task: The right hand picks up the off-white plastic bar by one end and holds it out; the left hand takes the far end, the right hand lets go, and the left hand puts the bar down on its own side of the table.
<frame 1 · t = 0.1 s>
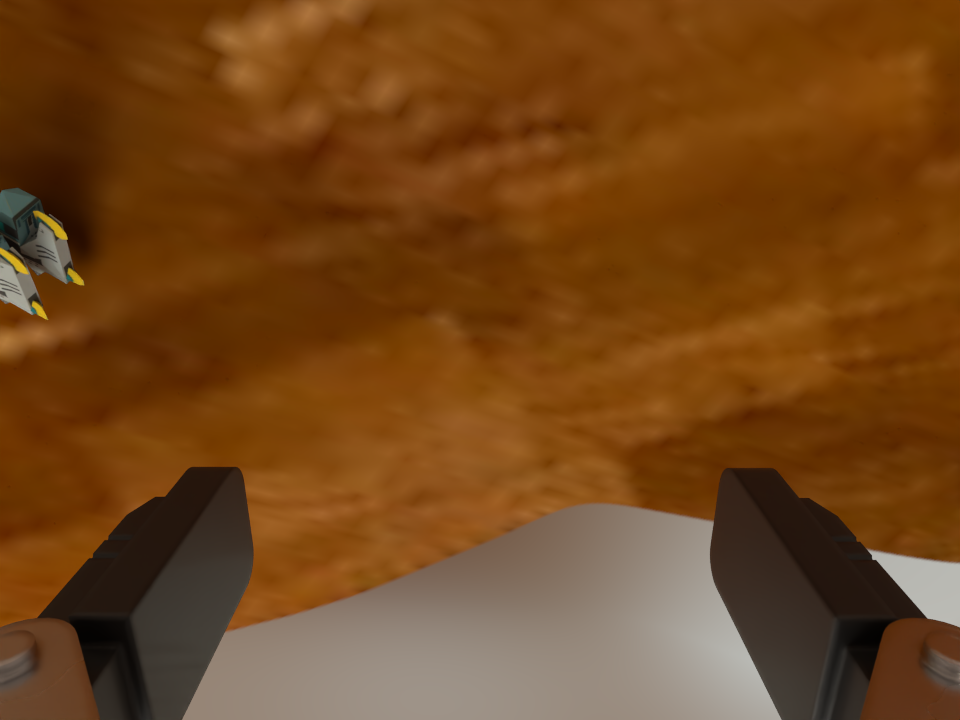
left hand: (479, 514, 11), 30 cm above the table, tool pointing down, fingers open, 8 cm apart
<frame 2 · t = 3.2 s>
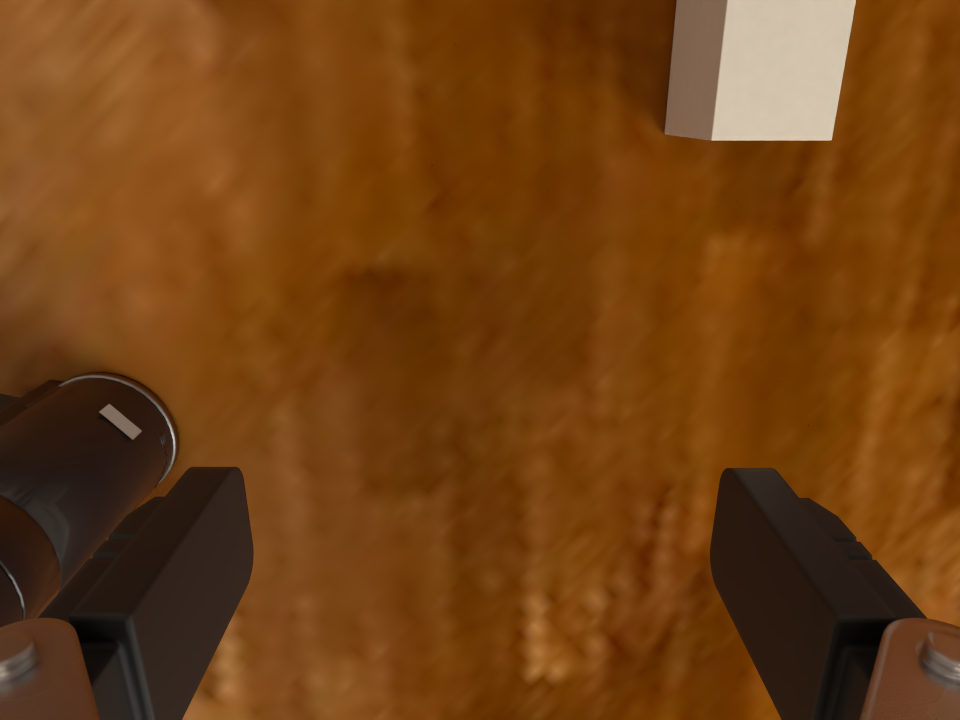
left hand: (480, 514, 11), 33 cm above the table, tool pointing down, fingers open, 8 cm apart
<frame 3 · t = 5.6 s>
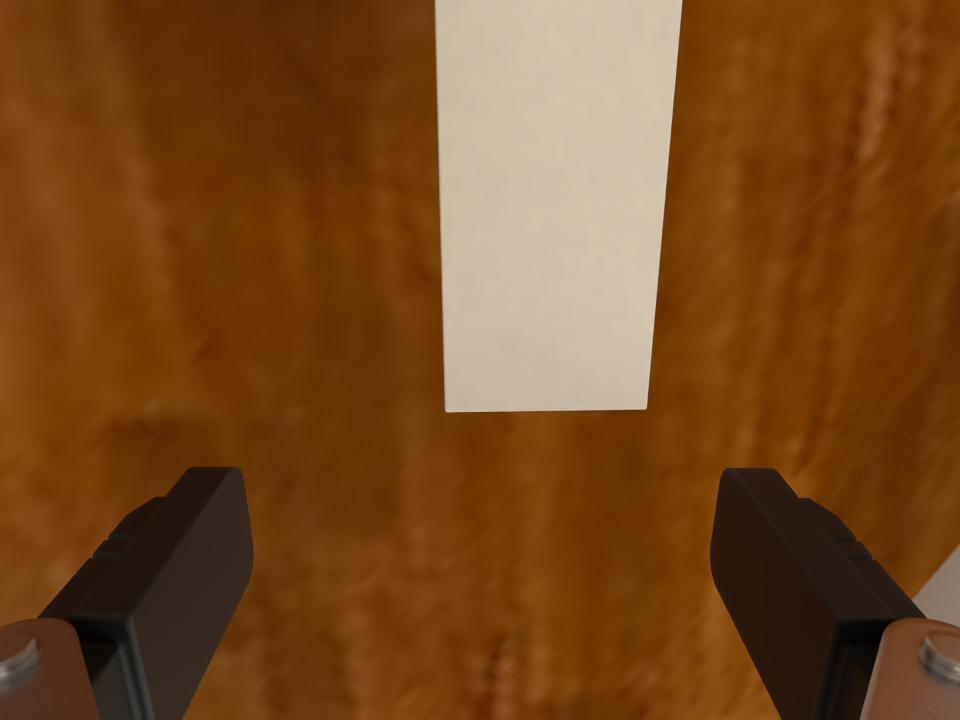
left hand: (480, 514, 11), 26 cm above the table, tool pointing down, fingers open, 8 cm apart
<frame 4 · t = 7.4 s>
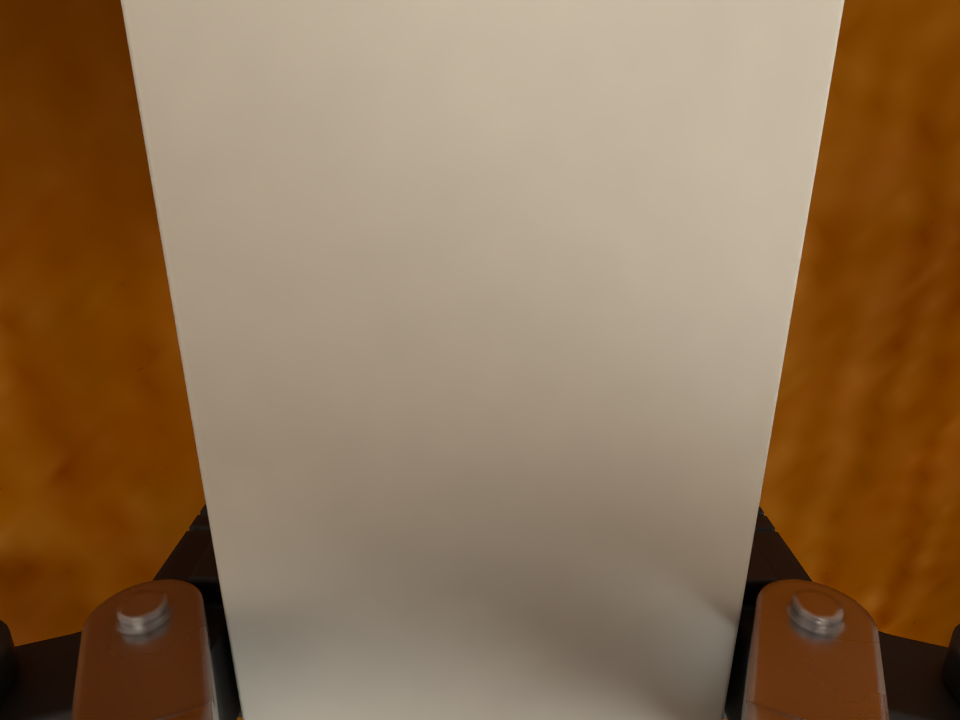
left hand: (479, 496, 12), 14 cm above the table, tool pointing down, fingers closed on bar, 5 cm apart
when the right hand's fingers open (10 cm above the table, at t = 8.4 s): bar stays where it is, held by the left hand.
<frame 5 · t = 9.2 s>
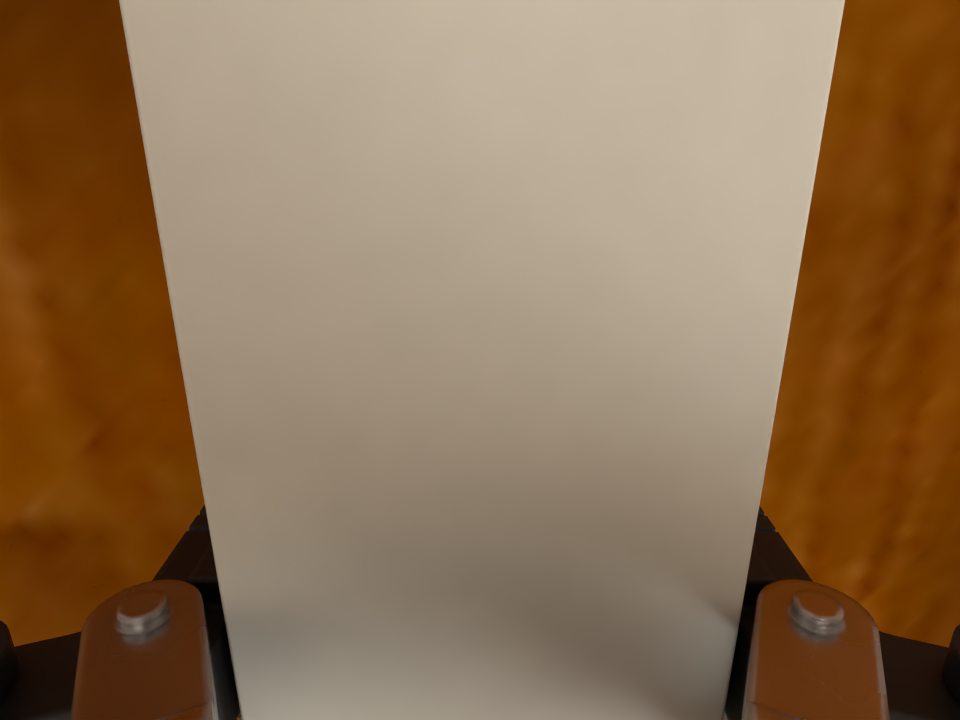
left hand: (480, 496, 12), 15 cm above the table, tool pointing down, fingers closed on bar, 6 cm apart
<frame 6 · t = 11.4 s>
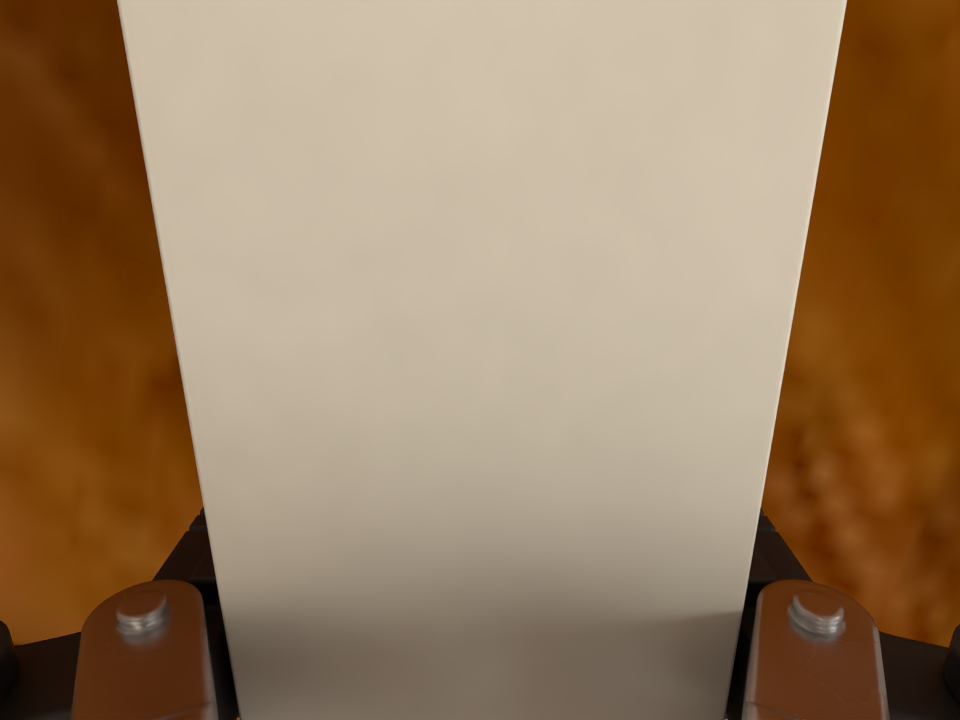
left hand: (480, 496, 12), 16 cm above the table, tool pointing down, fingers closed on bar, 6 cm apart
when the left hand's fingers open (6 cm above the table, at t = 12.8 s): bar drops 1 cm, on the table.
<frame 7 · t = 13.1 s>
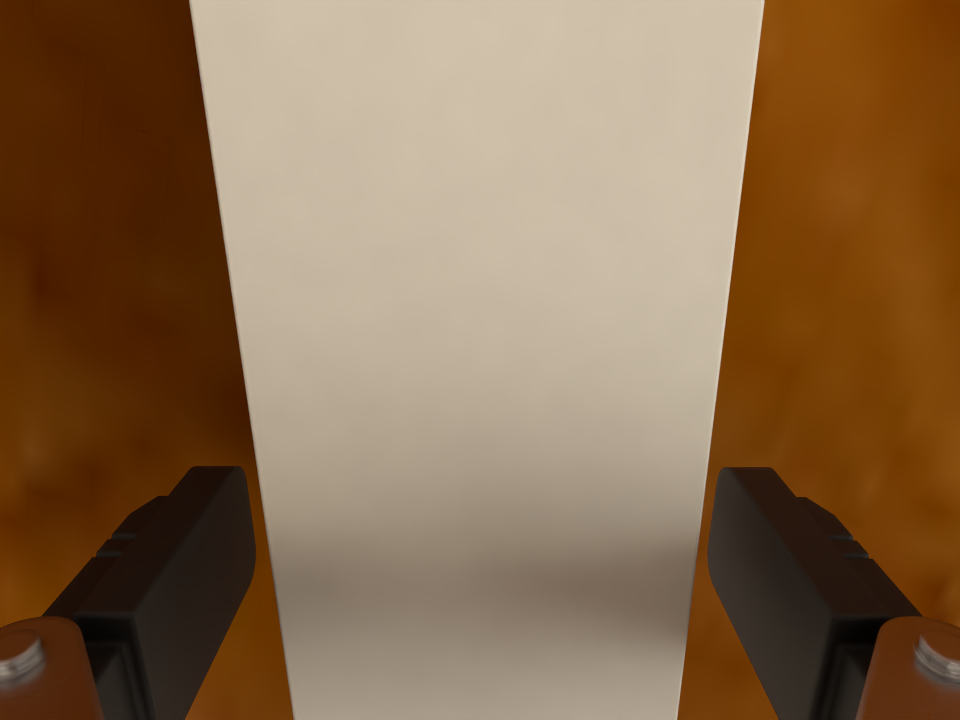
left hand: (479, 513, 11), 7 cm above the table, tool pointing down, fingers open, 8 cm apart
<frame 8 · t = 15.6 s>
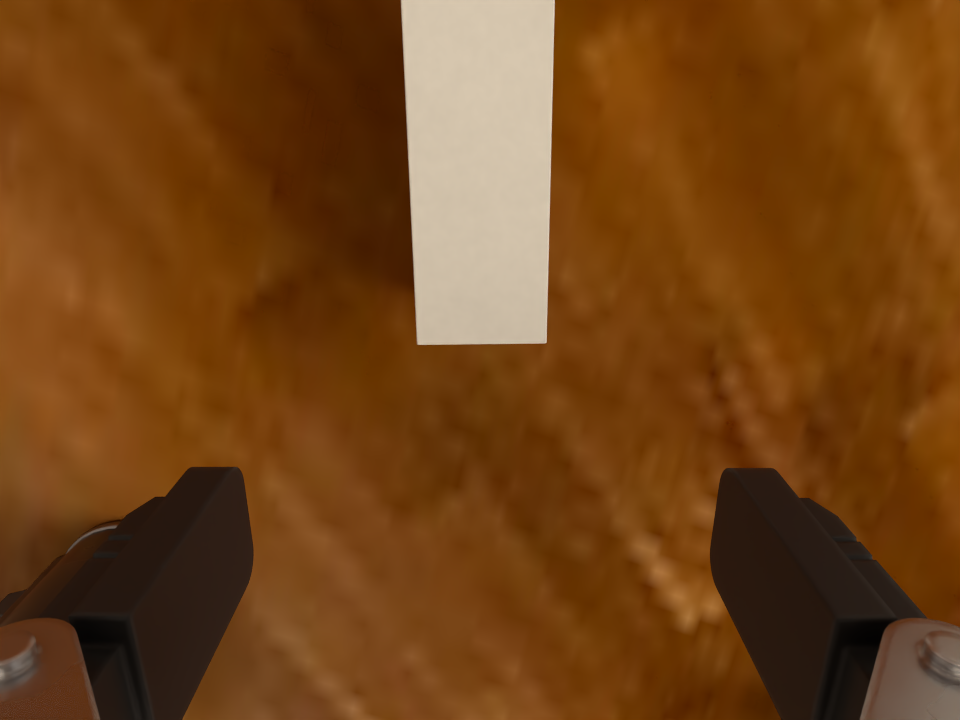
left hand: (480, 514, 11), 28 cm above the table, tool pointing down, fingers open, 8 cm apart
bar: (478, 34, 34), on the table
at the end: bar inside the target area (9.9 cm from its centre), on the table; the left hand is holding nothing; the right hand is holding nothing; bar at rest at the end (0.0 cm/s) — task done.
